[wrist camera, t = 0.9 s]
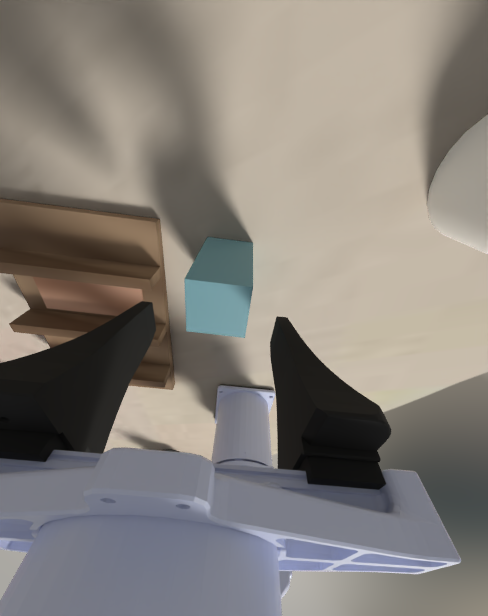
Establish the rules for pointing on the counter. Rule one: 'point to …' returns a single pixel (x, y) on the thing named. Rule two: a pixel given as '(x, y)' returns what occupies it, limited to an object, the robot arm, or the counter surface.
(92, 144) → the counter surface
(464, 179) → the cylinder with rectangular tab
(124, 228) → the slot rack
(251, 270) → the plug block
